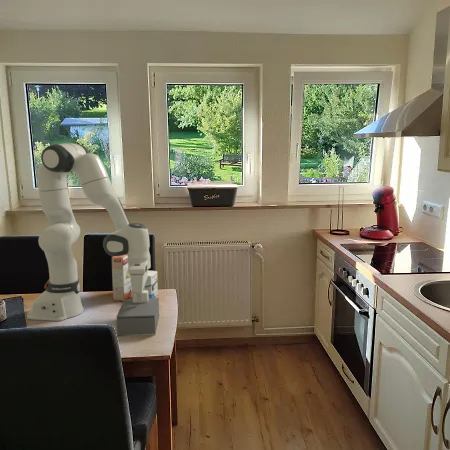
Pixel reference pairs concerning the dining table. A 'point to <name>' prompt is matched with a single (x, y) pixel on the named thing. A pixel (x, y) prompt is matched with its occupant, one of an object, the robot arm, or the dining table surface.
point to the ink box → (151, 284)
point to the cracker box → (121, 278)
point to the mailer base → (138, 325)
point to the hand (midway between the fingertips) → (141, 296)
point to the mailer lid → (138, 306)
